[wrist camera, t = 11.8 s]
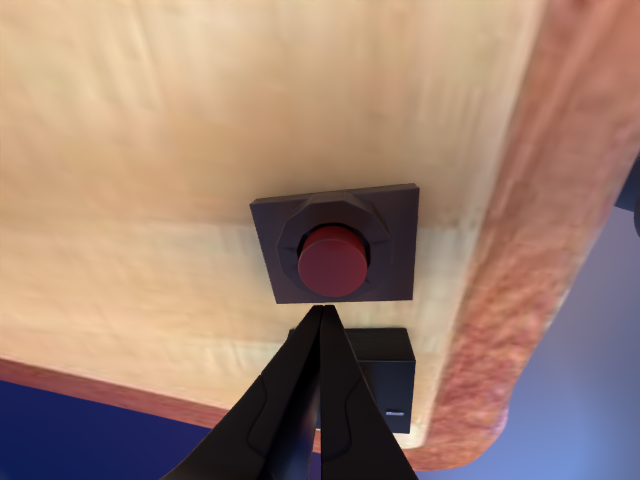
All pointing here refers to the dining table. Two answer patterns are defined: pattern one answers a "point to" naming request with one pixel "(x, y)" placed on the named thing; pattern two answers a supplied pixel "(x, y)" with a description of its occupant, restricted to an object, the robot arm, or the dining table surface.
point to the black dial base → (386, 372)
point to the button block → (354, 214)
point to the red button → (333, 261)
